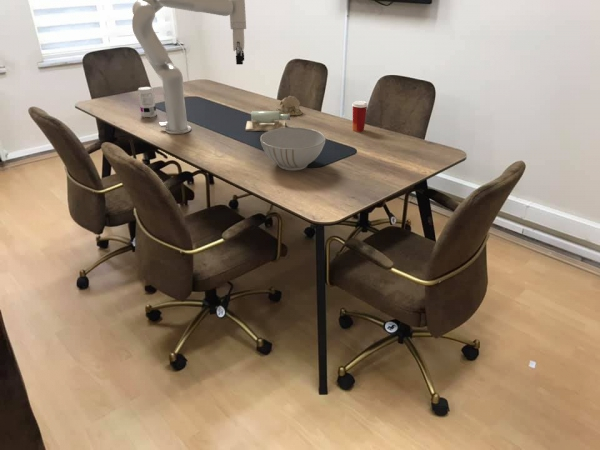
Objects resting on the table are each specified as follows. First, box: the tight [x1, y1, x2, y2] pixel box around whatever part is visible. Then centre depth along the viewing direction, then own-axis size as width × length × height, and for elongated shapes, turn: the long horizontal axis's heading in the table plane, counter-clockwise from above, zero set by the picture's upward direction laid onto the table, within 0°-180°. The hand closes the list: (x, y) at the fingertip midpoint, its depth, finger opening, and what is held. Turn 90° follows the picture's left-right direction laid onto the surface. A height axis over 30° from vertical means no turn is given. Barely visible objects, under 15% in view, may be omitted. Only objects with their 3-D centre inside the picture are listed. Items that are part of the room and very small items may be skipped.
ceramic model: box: [275, 95, 303, 116], centre depth 259 cm, size 14×11×10 cm
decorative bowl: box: [259, 126, 327, 171], centre depth 193 cm, size 27×27×12 cm
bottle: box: [250, 110, 291, 123], centre depth 238 cm, size 20×6×6 cm, turn 92°
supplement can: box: [137, 86, 158, 118], centre depth 253 cm, size 8×8×15 cm
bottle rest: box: [245, 120, 286, 132], centre depth 239 cm, size 20×13×4 cm, turn 92°
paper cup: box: [351, 100, 369, 133], centre depth 232 cm, size 8×8×14 cm
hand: (240, 62), depth 233 cm, fingers open, 9 cm apart
